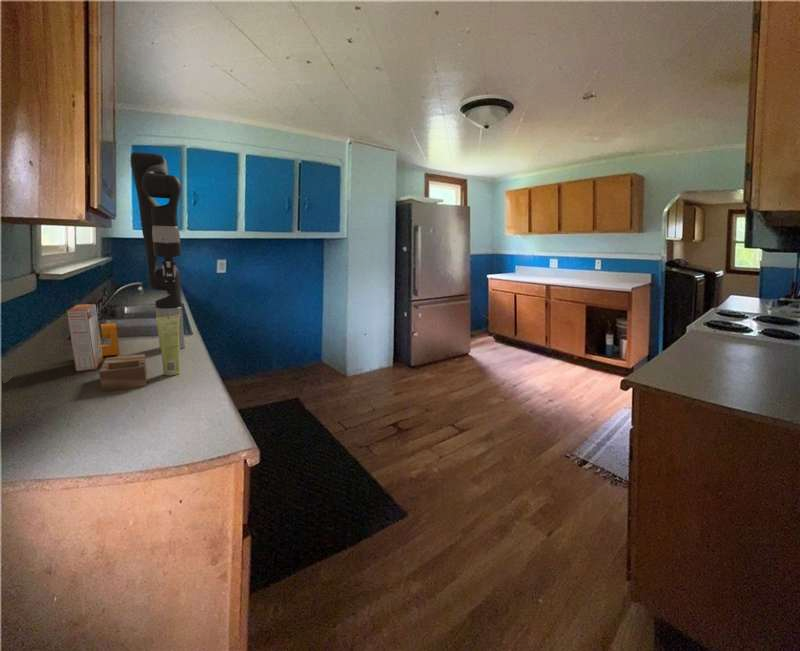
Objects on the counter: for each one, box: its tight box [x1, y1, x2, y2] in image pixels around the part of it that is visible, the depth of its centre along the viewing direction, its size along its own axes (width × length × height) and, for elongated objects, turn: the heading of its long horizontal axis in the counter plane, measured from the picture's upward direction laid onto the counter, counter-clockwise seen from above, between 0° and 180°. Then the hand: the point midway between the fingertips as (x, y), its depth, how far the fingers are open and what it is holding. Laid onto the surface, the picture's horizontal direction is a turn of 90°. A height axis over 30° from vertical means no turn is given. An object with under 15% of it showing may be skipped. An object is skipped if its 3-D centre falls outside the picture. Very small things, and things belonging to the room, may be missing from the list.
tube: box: [155, 315, 181, 377], centre depth 135 cm, size 6×5×20 cm
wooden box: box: [99, 353, 148, 393], centre depth 128 cm, size 16×11×6 cm
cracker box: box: [66, 303, 104, 372], centre depth 141 cm, size 14×6×21 cm, turn 27°
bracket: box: [100, 322, 120, 357], centre depth 157 cm, size 11×7×12 cm, turn 37°
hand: (171, 292), depth 132 cm, fingers open, 8 cm apart
